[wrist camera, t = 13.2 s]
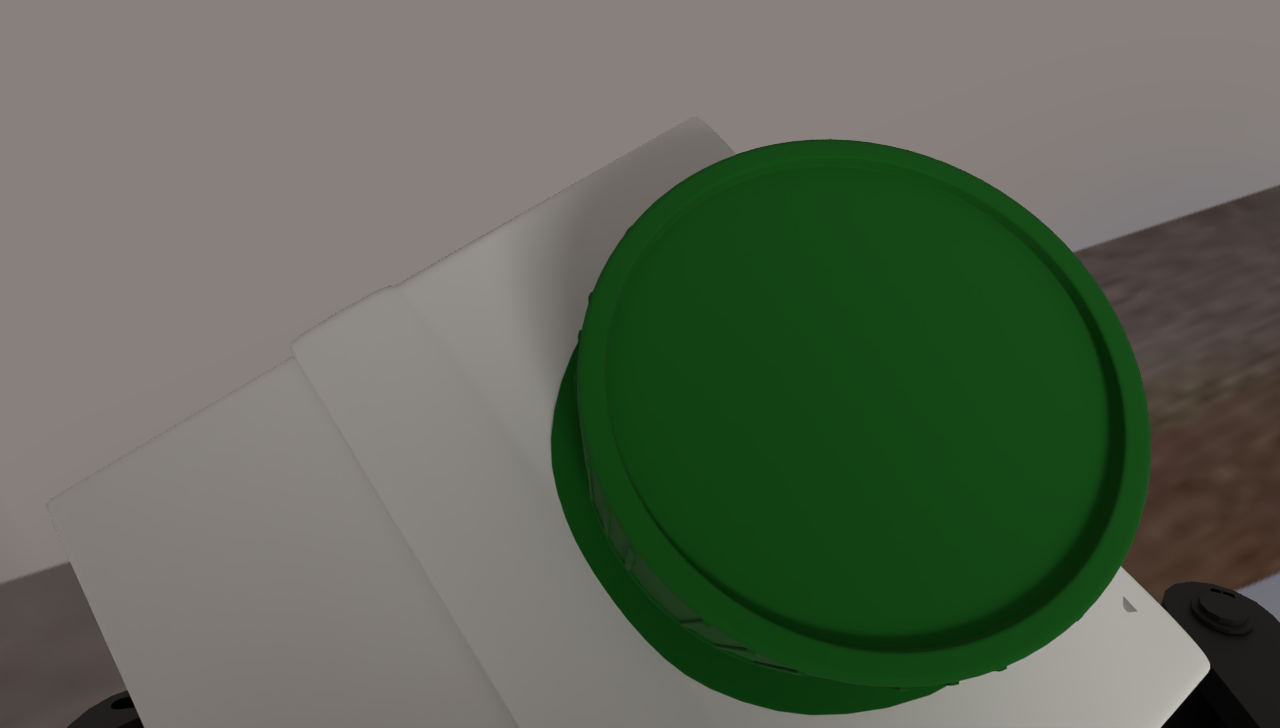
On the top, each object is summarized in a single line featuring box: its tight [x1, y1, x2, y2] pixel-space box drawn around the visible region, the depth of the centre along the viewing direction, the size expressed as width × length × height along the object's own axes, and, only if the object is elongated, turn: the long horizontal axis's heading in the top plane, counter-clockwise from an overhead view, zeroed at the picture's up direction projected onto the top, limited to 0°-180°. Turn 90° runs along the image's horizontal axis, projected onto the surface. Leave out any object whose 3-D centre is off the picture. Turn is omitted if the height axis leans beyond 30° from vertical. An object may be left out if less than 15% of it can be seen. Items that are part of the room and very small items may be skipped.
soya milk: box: [46, 117, 1210, 728], centre depth 13 cm, size 9×9×20 cm
